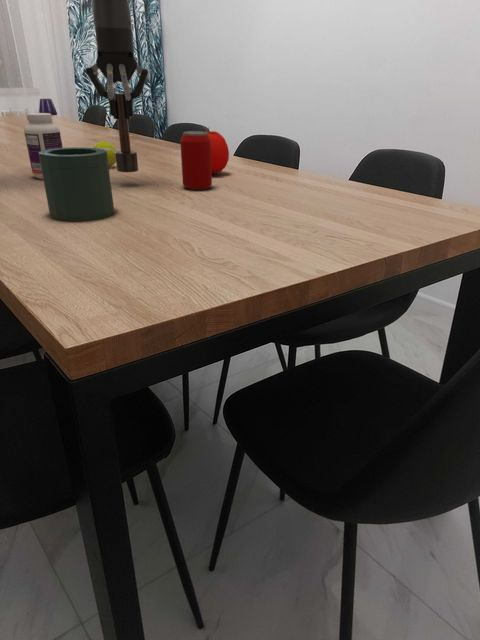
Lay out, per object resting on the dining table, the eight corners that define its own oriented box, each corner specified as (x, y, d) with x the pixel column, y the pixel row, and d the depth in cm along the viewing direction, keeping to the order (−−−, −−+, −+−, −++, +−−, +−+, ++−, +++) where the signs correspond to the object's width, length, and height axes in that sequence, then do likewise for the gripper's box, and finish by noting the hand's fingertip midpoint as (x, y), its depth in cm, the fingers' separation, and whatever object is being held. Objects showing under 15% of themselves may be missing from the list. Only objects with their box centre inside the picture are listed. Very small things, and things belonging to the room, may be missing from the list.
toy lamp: (45, 163, 144) (33, 98, 136) (61, 161, 147) (50, 98, 139) (52, 165, 141) (40, 99, 133) (68, 163, 144) (57, 98, 135)
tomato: (223, 169, 140) (222, 126, 134) (234, 177, 130) (234, 130, 125) (180, 171, 136) (177, 126, 131) (188, 179, 127) (186, 131, 121)
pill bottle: (68, 173, 130) (58, 112, 123) (66, 179, 123) (56, 115, 116) (35, 174, 128) (22, 112, 121) (31, 180, 121) (18, 115, 114)
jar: (42, 221, 89) (29, 156, 84) (59, 206, 99) (49, 147, 94) (107, 221, 90) (99, 156, 85) (118, 206, 100) (111, 147, 95)
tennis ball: (101, 170, 136) (97, 143, 132) (89, 166, 140) (85, 141, 137) (123, 167, 140) (120, 141, 136) (111, 164, 144) (108, 139, 141)
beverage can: (210, 184, 121) (209, 130, 115) (213, 190, 115) (211, 134, 109) (182, 185, 120) (179, 130, 114) (183, 191, 114) (180, 134, 108)
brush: (115, 172, 115) (106, 93, 107) (118, 168, 119) (110, 93, 111) (136, 172, 115) (129, 94, 107) (139, 169, 119) (132, 93, 112)
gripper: (149, 29, 107) (155, 118, 116) (83, 27, 106) (94, 117, 114) (145, 26, 101) (152, 121, 109) (74, 24, 100) (86, 119, 108)
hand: (122, 118), depth 112 cm, fingers closed on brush
